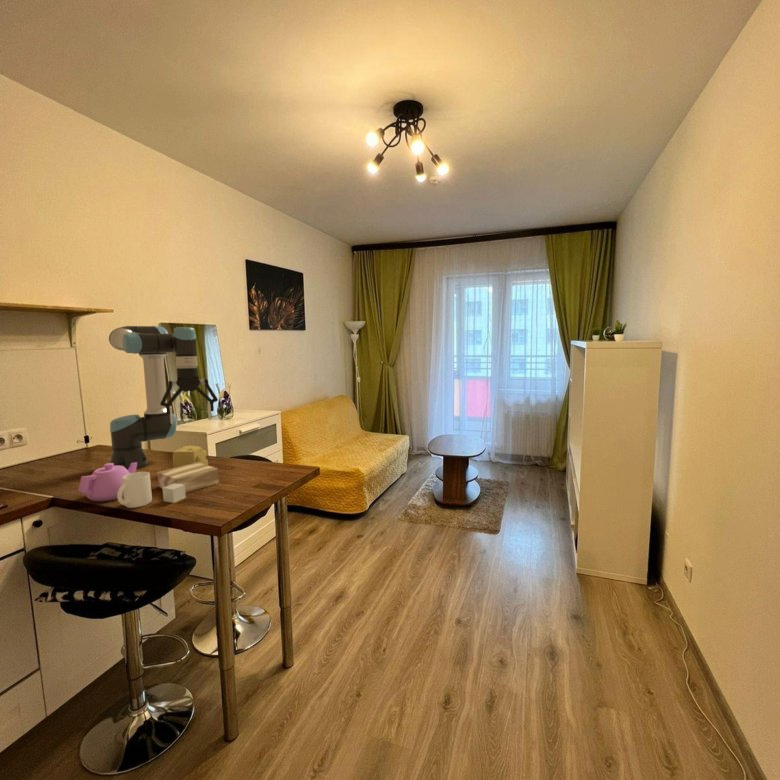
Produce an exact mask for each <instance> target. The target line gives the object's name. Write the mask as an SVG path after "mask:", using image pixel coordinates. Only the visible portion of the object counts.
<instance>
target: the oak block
mask: <svg viewBox="0 0 780 780" xmlns="http://www.w3.org/2000/svg"><path fill="white" fill-rule="evenodd" d="M156 473H157V486H158V488H160V489H162V490H163V487H166V486H169V485H171V484H174V483H176V484H183V485H185V494H188V493H190V492H194V491H197V490H200V489H203V488H207V487H210V486H213V485H216V484H219V483H220V482H219V481H220V480H219V468H218V467H215V466H211V465H209V464H208V465H204V464H201V463H197V462H196V463H192V464H188V465H184V466H180V467H176V468H174V467H172V468H169V469H164V470H161V471H157V472H156Z"/></svg>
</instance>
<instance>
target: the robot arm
mask: <svg viewBox="0 0 780 780" xmlns="http://www.w3.org/2000/svg"><path fill="white" fill-rule="evenodd" d="M108 341H109V344H110V345H111V346H112V347H113V348H114V349H115V350H118V351H124V352H125V353H127V354H135V355H136V354H138V356H139V357H140V358H141V359H142V362H143V363H142V364H143V375H144V386H145V399H146V410H144V412H143V416H140V415H139V414H129V415H128V414H127V415H123V416H120V417H117V418H114V419H112V420H111V421H110V422H109V432H110V439H111V450H112V452H111V455H110V459H109V463H114V465H113V466H123V467H125V468H126V469H127V470H128V469H129V467H130V465H131V463H134V462H137V468H136V469H139V468H142V467H145V466H147V465H148V464H149V463H148V457H147V455H146V453H145V451H144V450H143V444H142V443H144V442H150V441H156V440H165V439H169V438H172V437H174V435H175V434H176V431H177V426H178V425H177V424H178V422H177V417H176V413H173V407H172V404H173V402H174V401H175V400H176V398H177V397H178V396H179V395H180V394H181V393H182V392H185V393H186V392H187V393H188V392H194V391H197V392H198V393H199V394H200V395H201V396H202V397H204V398H205V400H207V401H208V403H207V416H208V420H209V421H211V420H212V412H214V403H217V402H218V401H219V399H218V397H217V396H216V394H215V393H214V391H213V389H212V388H211V386H210V384H209V381H208V379H207V378H204V379H200V378H199V377H200V376H199V375H200V374H199V368H198V367H199V366H198V364H199V363H198V350H197V335H196V330H195V328H194V327H188V326H187V327H185V326H184V327H182V326H181V327H180V326H178V327H174V328H173V333H169V332H168V330H167V329H166V328H165V327H164V326H157V325H156V326H155V325H152V326H151V325H148V326H147V325H146V326H145V325H126V326H125V325H124V326H121V327H117V328H114V329H112V331H111V332H110V333H109V336H108ZM169 353H171V354H173V353H174V354H175V366H176V368H177V369H176V378H177V380H176V381H174V380H173V381H172V380H169V381H167V382H168V385H167V383H166V371H165V357H166V356H167V355H168V354H169ZM200 384H202V385H203V386H204V387H205V388H206V389H207V392H208V393H209V395H210V396H211V397H212V398H211V397H210V396H208V395H207V393H205V391H203V390H202V389H201V388H200V387H199V385H200ZM175 385H177V386H178V388H177V390H176V391H175V393H174V394H173V395H172V396H171V397H170V398H169V395H170V393H171V390H172V389H173V388H174V387H175ZM172 387H173V388H172ZM168 398H169V400H168Z"/></svg>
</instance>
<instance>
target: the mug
mask: <svg viewBox="0 0 780 780" xmlns="http://www.w3.org/2000/svg"><path fill="white" fill-rule="evenodd" d="M122 483H123V485H121V487H120V488H119V490H118V493H117V498H118V499H117V501H118V503H119V504H120V505H122V506H125V507H126V508H127V509H129V508H130V509H133V508H134V509H135V508H140V507H145V506H148V505H149V504H151V503H152V500H153V497H152V496H153V493H152V485H151V483H152V482H151V473H150V472H148V471H136V473H131V474H127V475H125V476H123V477H122ZM122 492H123V494H124V497H122Z"/></svg>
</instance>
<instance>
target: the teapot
mask: <svg viewBox="0 0 780 780" xmlns="http://www.w3.org/2000/svg"><path fill="white" fill-rule="evenodd" d="M113 465H114V463H110V462H107V463H104V464H103V467H100V468H97V469H95V470H94V471H93V472H92V474H90V475H81V477H80V481H79V485H78V489H77V491H78V493H80V494H82V495H84V496H86V498H88V500H91V501H92V502H108V501H113V500H118V498H117V493H118V490H119V488H120V487H121V485H123V483H122V477H123V476H125V475H127V474H131V473H136V472H137V469H138V468H137V462H134V463H131V465H130V467H129V469H128V470H127V469H126V468H125V467H123V466H113ZM122 498H124V494H123V492H122Z"/></svg>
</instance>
